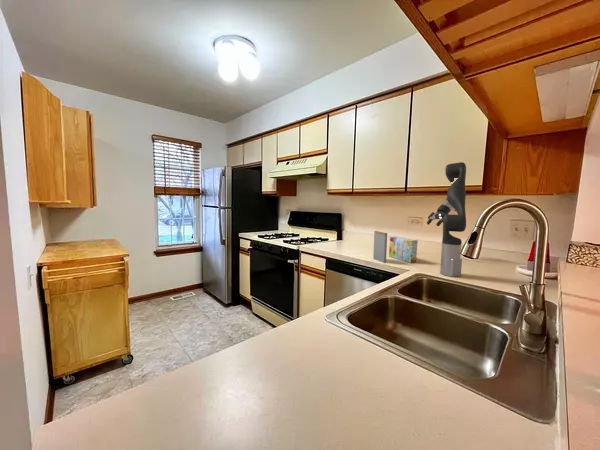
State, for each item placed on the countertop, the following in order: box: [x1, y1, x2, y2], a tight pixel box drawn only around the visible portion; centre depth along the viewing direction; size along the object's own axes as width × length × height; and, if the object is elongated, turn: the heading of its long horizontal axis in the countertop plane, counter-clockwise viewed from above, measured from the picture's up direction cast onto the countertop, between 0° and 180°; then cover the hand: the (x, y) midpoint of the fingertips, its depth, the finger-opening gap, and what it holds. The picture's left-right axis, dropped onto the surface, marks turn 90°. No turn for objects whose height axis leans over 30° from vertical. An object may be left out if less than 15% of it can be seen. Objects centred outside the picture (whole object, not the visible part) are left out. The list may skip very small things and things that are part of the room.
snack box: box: [388, 236, 418, 264], centre depth 180 cm, size 21×6×15 cm, turn 22°
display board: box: [372, 230, 388, 264], centre depth 175 cm, size 13×2×20 cm, turn 15°
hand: (432, 224), depth 184 cm, fingers open, 8 cm apart
